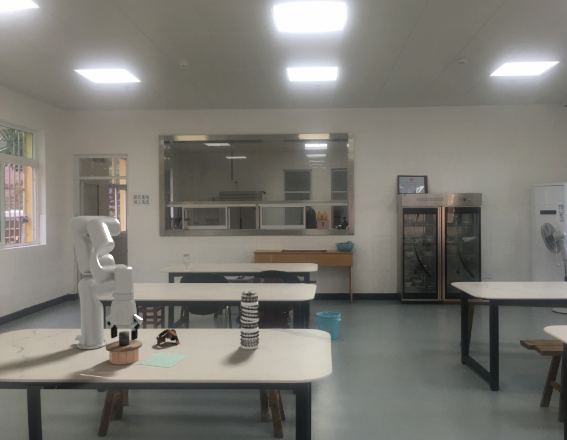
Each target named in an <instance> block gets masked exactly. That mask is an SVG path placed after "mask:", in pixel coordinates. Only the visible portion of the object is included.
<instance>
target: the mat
mask: <svg viewBox="0 0 567 440" xmlns="http://www.w3.org/2000/svg"><path fill="white" fill-rule="evenodd" d="M187 357H189V354H187V355H186V354H180V353H168V352H159V351H158V352H156V353H154V354H152V355H150V356H148V357H147V358H145V359H143V360H141V361H139V362H137V363H136V365H140V366H141V365H142V366H152V367H160V368H172V367H173V366H175V365H176V364H178V363H179V362H181V361H183V360H184V359H186V358H187Z"/></svg>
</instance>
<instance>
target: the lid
mask: <svg viewBox="0 0 567 440" xmlns="http://www.w3.org/2000/svg"><path fill="white" fill-rule="evenodd" d="M142 346H143V341H141V340H138V339H135V340H131V339H130V331H126V330H124V331H119V332H118V340H116V341H112V342H109V343H107V345H105V350H106V351H108V352H109V353H110V352H126V351H132V350H135V349H138V348H139V349H140V348H142Z"/></svg>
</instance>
